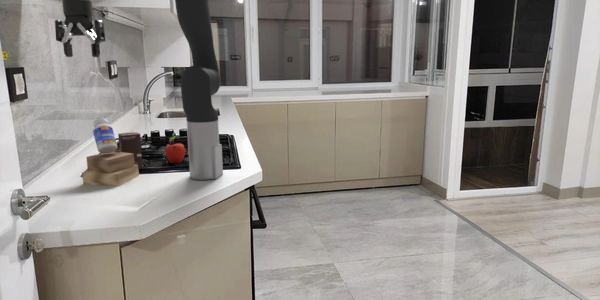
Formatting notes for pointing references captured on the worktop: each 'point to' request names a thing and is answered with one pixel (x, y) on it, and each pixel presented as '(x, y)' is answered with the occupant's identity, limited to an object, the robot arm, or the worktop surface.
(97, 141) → the pill bottle
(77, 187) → the worktop surface
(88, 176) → the oak slab
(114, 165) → the walnut slab
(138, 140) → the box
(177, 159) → the apple
